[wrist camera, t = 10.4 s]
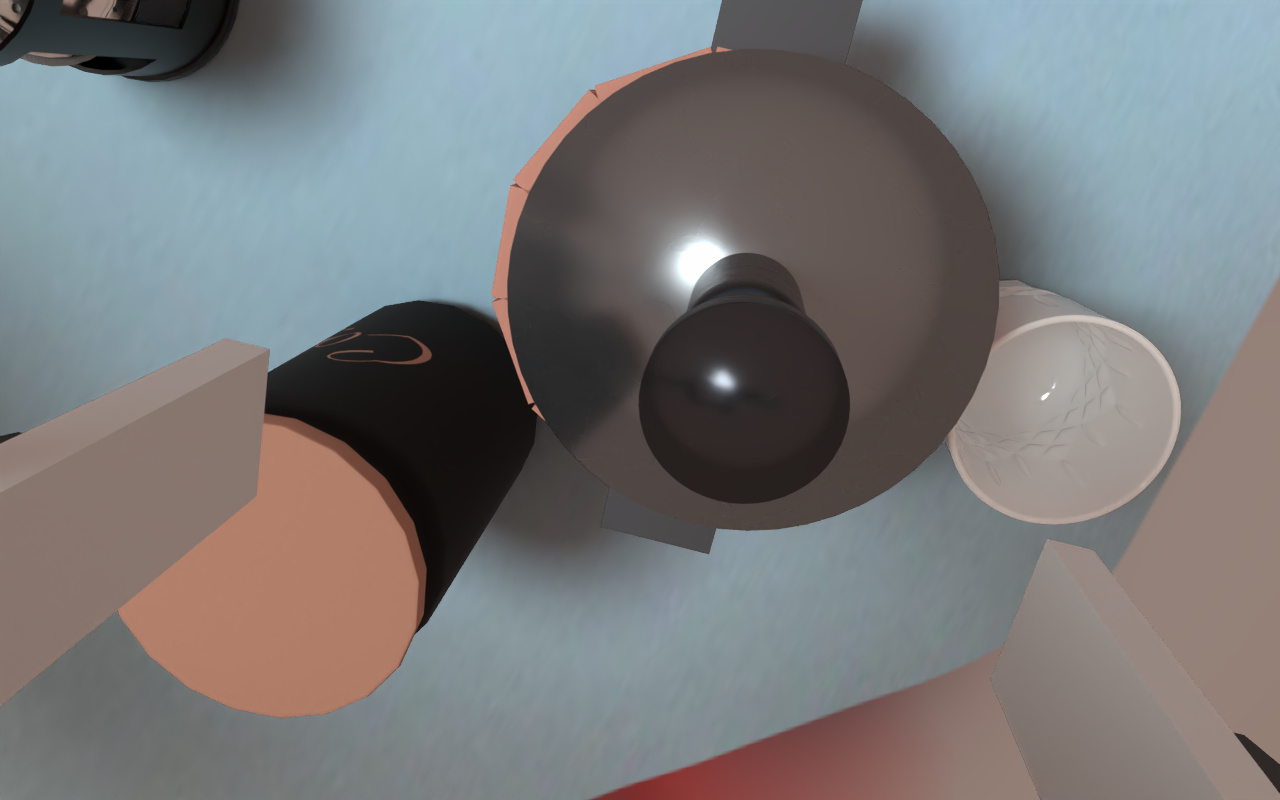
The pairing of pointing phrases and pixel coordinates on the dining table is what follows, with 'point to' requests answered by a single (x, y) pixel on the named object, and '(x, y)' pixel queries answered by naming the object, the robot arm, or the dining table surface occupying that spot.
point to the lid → (753, 289)
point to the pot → (748, 19)
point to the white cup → (1064, 412)
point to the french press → (113, 36)
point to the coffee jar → (346, 515)
